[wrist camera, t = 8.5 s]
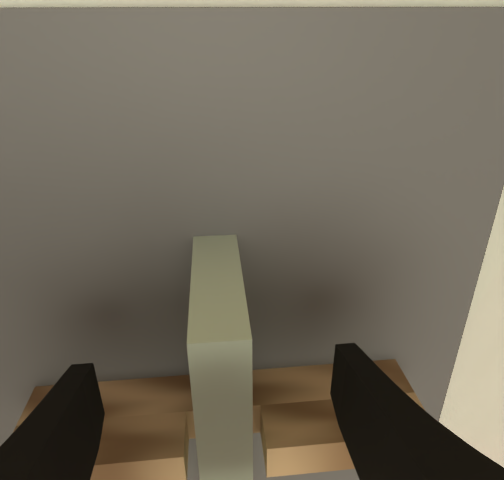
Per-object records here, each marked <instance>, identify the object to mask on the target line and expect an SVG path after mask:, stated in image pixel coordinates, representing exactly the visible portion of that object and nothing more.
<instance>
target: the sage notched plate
mask: <svg viewBox="0 0 504 480" xmlns="http://www.w3.org/2000/svg"><path fill="white" fill-rule="evenodd" d="M187 354H188V364H189V374H190V385H191V395H192V406H193V416H194V426H195V437H196V447H197V458H198V468H199V478H200V480H253V380H252V335H251V328H250V321H249V315H248V308H247V302H246V295H245V288H244V282H243V275H242V269H241V262H240V255H239V249H238V242H237V236H236V235H217V236H196V237H193V250H192V266H191V282H190V298H189V314H188V330H187Z"/></svg>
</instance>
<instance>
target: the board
mask: <svg viewBox="0 0 504 480" xmlns="http://www.w3.org/2000/svg"><path fill="white" fill-rule="evenodd" d="M503 186H504V7H103V8H0V446H1V445H2V444H3V443H4V442H5V441H6V440H7V439H8V438H9V436H10V435H11V434H12V433H13V431H14V429H15V427H16V425H17V423H18V421H19V419H20V417H21V415H22V413H23V410H24V408H25V406H26V404H27V402H28V400H29V398H30V396H31V394H32V392H33V390H34V388H35V387H37V386H50V385H55V383H56V382H57V381H58V380H59V379H60V377H61V376H62V375H63V374H64V373H65V371H66V370H67V369H68V368H69V367H70V366H71V365H72V364H84V363H93V364H94V368H95V372H96V377H97V381H98V382H102V381H115V380H128V379H141V378H154V377H167V376H180V375H190V374H189V364H188V354H187V330H188V314H189V298H190V282H191V266H192V250H193V237H196V236H217V235H236V236H237V242H238V249H239V255H240V262H241V269H242V275H243V282H244V288H245V295H246V302H247V308H248V315H249V321H250V328H251V335H252V370H259V369H272V368H285V367H298V366H311V365H324V364H333V362H334V352H335V344H345V343H356V344H357V345H358V346H359V347H360V348H361V349H362V350H363V351H364V352H365V353H366V355H367V356H368V357H369V358H370V359H371V360H372V361H376V360H389V359H396V361H397V363H398V365H399V366H400V368H401V370H402V371H403V373H404V375H405V377H406V378H407V380H408V382H409V383H410V385H411V387H412V389H413V390H414V392H415V394H416V396H417V397H418V399H419V401H420V402H421V404H422V406H423V408H424V409H425V411H426V412H427V413H429V414H430V415H431V416H432V417H433V418H434V419H436V420H437V421H438V422H439V418H440V414H441V411H442V407H443V404H444V400H445V396H446V393H447V389H448V385H449V382H450V378H451V375H452V371H453V367H454V364H455V360H456V356H457V353H458V349H459V346H460V342H461V338H462V335H463V331H464V327H465V324H466V320H467V317H468V313H469V309H470V306H471V302H472V298H473V295H474V291H475V288H476V284H477V280H478V277H479V273H480V269H481V266H482V262H483V259H484V255H485V251H486V248H487V244H488V240H489V237H490V233H491V230H492V226H493V222H494V219H495V215H496V211H497V208H498V204H499V201H500V197H501V193H502V190H503ZM187 480H200V478H199V468H198V458H197V447H196V438H194V439H189V448H188V471H187ZM253 480H359V477H358V475H357V472H356V470H355V469H347V470H337V471H327V472H317V473H307V474H297V475H287V476H277V477H266V470H265V462H264V455H263V448H262V440H261V433H253Z"/></svg>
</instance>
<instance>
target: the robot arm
mask: <svg viewBox="0 0 504 480" xmlns="http://www.w3.org/2000/svg"><path fill="white" fill-rule="evenodd" d="M330 395H331V399H332V403H333V407H334V411H335V414H336V418H337V422H338V426H339V428H340V431H341V434H342V436H343V439H344V441H345V444H346V447H347V449H348V452H349V454H350V457H351V459H352V462H353V465H354V467H355V470H356V472H357V475H358V477H359V480H504V468H503V467H502V466H500V465H499V464H497V463H496V462H494V461H493V460H491V459H489V458H488V457H486V456H485V455H483V454H482V453H480V452H479V451H477V450H476V449H474V448H473V447H472V446H470V445H469V444H467V443H466V442H465V441H463V440H462V439H461V438H459V437H458V436H457V435H455V434H454V433H453V432H451V431H450V430H448V429H447V428H446V427H444V426H443V425H442V424H441V423H439V422H438V421H437V420H436V419H434V418H433V417H432V416H431V415H430V414H429V413H427V412H426V411H425V410H424V409H423V408H422V407H420V406H419V405H418V404H417V403H416V402H415V401H414V400H413V399H411V398H410V397H409V396H408V395H407V394H406V393H405V392H404V391H403V390H402V389H401V388H400V387H399V386H398V385H396V384H395V383H394V382H393V381H392V380H391V379H390V378H389V377H388V376H387V375H386V374H385V373H384V372H383V371H382V370H381V369H380V368H379V367H378V366H377V365H376V364H375V363H374V362H373V361H372V360H371V359H370V358H369V357H368V356H367V355H366V353H365V352H364V351H363V350H362V349H361V348H360V347H359V346H358V345H357V344H356V343H345V344H335V352H334V362H333V371H332V381H331V390H330ZM104 416H105V411H104V407H103V403H102V398H101V394H100V390H99V385H98V381H97V377H96V372H95V368H94V364H93V363H84V364H72V365H71V366H70V367H69V368H68V369H67V370H66V371H65V373H64V374H63V375H62V376H61V377H60V379H59V380H58V381H57V382H56V383H55V385H54V386H53V387H52V388H51V390H50V391H49V392H48V393H47V394H46V396H45V397H44V398H43V399H42V400H41V402H40V403H39V404H38V405H37V406H36V407H35V408H34V410H33V411H32V412H31V413H30V414H29V415H28V417H27V418H26V419H25V420H24V421H23V422H22V423H21V425H20V426H19V427H18V428H17V429H16V430H15V431H14V432H13V433H12V434H11V435H10V436H9V438H8V439H7V440H6V441H5V442H4V443H3V444H2V445H1V446H0V480H90V479H91V475H92V472H93V468H94V465H95V461H96V458H97V454H98V450H99V446H100V440H101V435H102V428H103V422H104Z"/></svg>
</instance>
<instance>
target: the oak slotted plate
mask: <svg viewBox="0 0 504 480" xmlns="http://www.w3.org/2000/svg"><path fill="white" fill-rule="evenodd" d="M373 362H374V363H375V364H376V365H377V366H378V367H379V368H380V369H381V370H382V371H383V372H384V373H385V374H386V375H387V376H388V377H389V378H390V379H391V380H392V381H393V382H394V383H395V384H396V385H398V386H399V387H400V388H401V389H402V390H403V391H404V392H405V393H406V394H407V395H408V396H409V397H410V398H411V399H413V400H414V401H415V402H416V403H417V404H418V405H419V406H420V407H422V408H423V406H422V404H421V402H420V401H419V399H418V397H417V396H416V394H415V392H414V390H413V389H412V387H411V385H410V383H409V382H408V380H407V378H406V377H405V375H404V373H403V371H402V370H401V368H400V366H399V365H398V363H397V361H396V359H389V360H376V361H373ZM332 371H333V364H324V365H311V366H298V367H285V368H272V369H259V370H252V380H253V433H261V440H262V448H263V455H264V462H265V470H266V477H277V476H287V475H297V474H307V473H317V472H327V471H337V470H347V469H355V467H354V465H353V462H352V459H351V457H350V454H349V452H348V449H347V447H346V444H345V441H344V439H343V436H342V434H341V431H340V428H339V426H338V422H337V418H336V414H335V411H334V407H333V403H332V399H331V395H330V390H331V381H332ZM98 385H99V390H100V394H101V398H102V403H103V407H104V411H105V416H104V422H103V428H102V435H101V440H100V446H99V450H98V454H97V458H96V461H95V465H94V468H93V472H92V475H91V479H90V480H187V471H188V448H189V439H194V438H196V437H195V426H194V416H193V406H192V395H191V385H190V375H180V376H167V377H154V378H141V379H128V380H115V381H102V382H98ZM53 386H54V385H50V386H37V387H35V388H34V390H33V392H32V394H31V396H30V398H29V400H28V402H27V404H26V406H25V408H24V410H23V413H22V415H21V417H20V419H19V421H18V423H17V425H16V427H15V429H14V431H15V430H16V429H17V428H18V427H19V426H20V425H21V423H22V422H23V421H24V420H25V419H26V418H27V417H28V415H29V414H30V413H31V412H32V411H33V410H34V408H35V407H36V406H37V405H38V404H39V403H40V402H41V400H42V399H43V398H44V397H45V396H46V394H47V393H48V392H49V391H50V390H51V388H52V387H53ZM423 409H424V408H423ZM424 410H425V409H424ZM14 431H13V432H14Z"/></svg>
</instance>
